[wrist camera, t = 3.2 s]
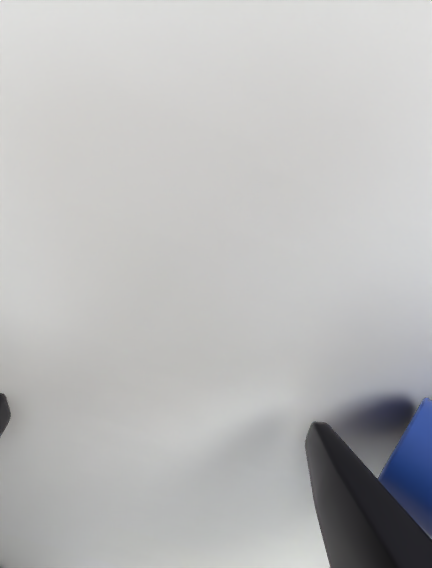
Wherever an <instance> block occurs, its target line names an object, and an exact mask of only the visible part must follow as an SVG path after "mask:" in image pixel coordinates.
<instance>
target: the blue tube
mask: <svg viewBox="0 0 432 568" xmlns="http://www.w3.org/2000/svg"><path fill="white" fill-rule="evenodd" d="M378 480H379V481H380V483H381V484H382V485H383V486H384V487H385V488H386V489H387V490H388V491H389V493H390V494H391V495H392V496H393V497H394V498H395V499H396V500H397V501H398V503H399V504H400V505H401V506H402V507H403V508H404V509H405V510H406V512H407V513H408V514H409V515H410V516H411V517H412V518H413V519H414V520H415V522H416V523H417V524H418V525H419V526H420V527H421V528H422V529H423V530H424V532H425V533H426V534H427V535H428V536H429V537H430V538H432V400H430V399H428V398H424V399H423V400H422V402H421V404H420V405H419V407H418V409H417V410H416V412H415V414H414V416H413V417H412V419H411V421H410V423H409V424H408V426H407V428H406V430H405V431H404V433H403V435H402V437H401V438H400V440H399V442H398V444H397V445H396V447H395V449H394V451H393V452H392V454H391V456H390V458H389V459H388V461H387V463H386V465H385V467H384V468H383V470H382V472H381V474H380V476H379V477H378Z"/></svg>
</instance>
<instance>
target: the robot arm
mask: <svg viewBox="0 0 432 568" xmlns="http://www.w3.org/2000/svg"><path fill="white" fill-rule="evenodd" d="M10 416H11V413H10V409H9V405H8V402H7V398H6V396H5V395H4V394H2V393H0V437H1V435H2V433H3V432H4V430H5V428H6V426H7V424H8V422H9V420H10ZM305 448H306V455H307V461H308V467H309V473H310V480H311V486H312V492H313V498H314V504H315V509H316V513H317V517H318V521H319V525H320V529H321V533H322V536H323V540H324V544H325V548H326V552H327V556H328V560H329V564H330V568H432V539H431V538H430V537H429V536H428V535H427V534H426V533H425V532H424V530H423V529H422V528H421V527H420V526H419V525H418V524H417V523H416V522H415V520H414V519H413V518H412V517H411V516H410V515H409V514H408V513H407V512H406V510H405V509H404V508H403V507H402V506H401V505H400V504H399V503H398V501H397V500H396V499H395V498H394V497H393V496H392V495H391V494H390V493H389V491H388V490H387V489H386V488H385V487H384V486H383V485H382V484H381V483H380V481H379V480H378V479H377V478H376V477H375V476H374V475H373V474H372V472H371V471H370V470H369V469H368V468H367V467H366V466H365V465H364V464H363V462H362V461H361V460H360V459H359V458H358V457H357V456H356V455H355V454H354V452H353V451H352V450H351V449H350V448H349V447H348V446H347V445H346V444H345V442H344V441H343V440H342V439H341V438H340V437H339V436H338V435H337V433H336V432H335V431H334V430H333V429H332V428H331V427H330V426H329V425H328V424H327V423H324V422H313V423H312V424H311V426H310V429H309V432H308V434H307V437H306V441H305Z"/></svg>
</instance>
